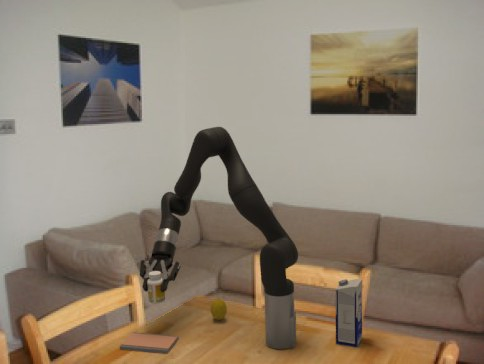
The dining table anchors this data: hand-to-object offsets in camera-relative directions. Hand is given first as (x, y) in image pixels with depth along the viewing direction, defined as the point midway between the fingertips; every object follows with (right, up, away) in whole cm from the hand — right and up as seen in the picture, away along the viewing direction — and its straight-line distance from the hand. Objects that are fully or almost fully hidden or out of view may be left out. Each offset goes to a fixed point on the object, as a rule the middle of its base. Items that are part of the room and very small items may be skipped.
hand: (153, 290), depth 180 cm
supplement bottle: (+1, -4, +3) cm, 5 cm away
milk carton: (+62, -15, -5) cm, 64 cm away
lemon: (+21, -13, +13) cm, 28 cm away
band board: (-1, -17, -3) cm, 17 cm away
